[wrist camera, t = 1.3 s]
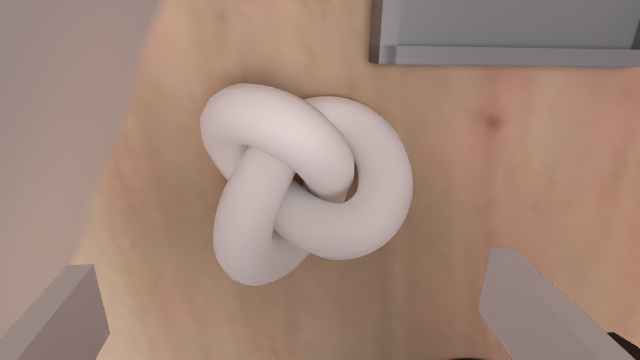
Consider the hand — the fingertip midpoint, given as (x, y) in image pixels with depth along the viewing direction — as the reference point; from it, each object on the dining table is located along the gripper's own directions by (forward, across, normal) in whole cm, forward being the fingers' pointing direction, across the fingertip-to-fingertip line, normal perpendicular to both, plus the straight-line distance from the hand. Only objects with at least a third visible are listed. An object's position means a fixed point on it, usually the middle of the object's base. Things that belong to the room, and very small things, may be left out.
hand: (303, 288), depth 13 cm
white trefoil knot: (+14, 0, 0) cm, 14 cm away
